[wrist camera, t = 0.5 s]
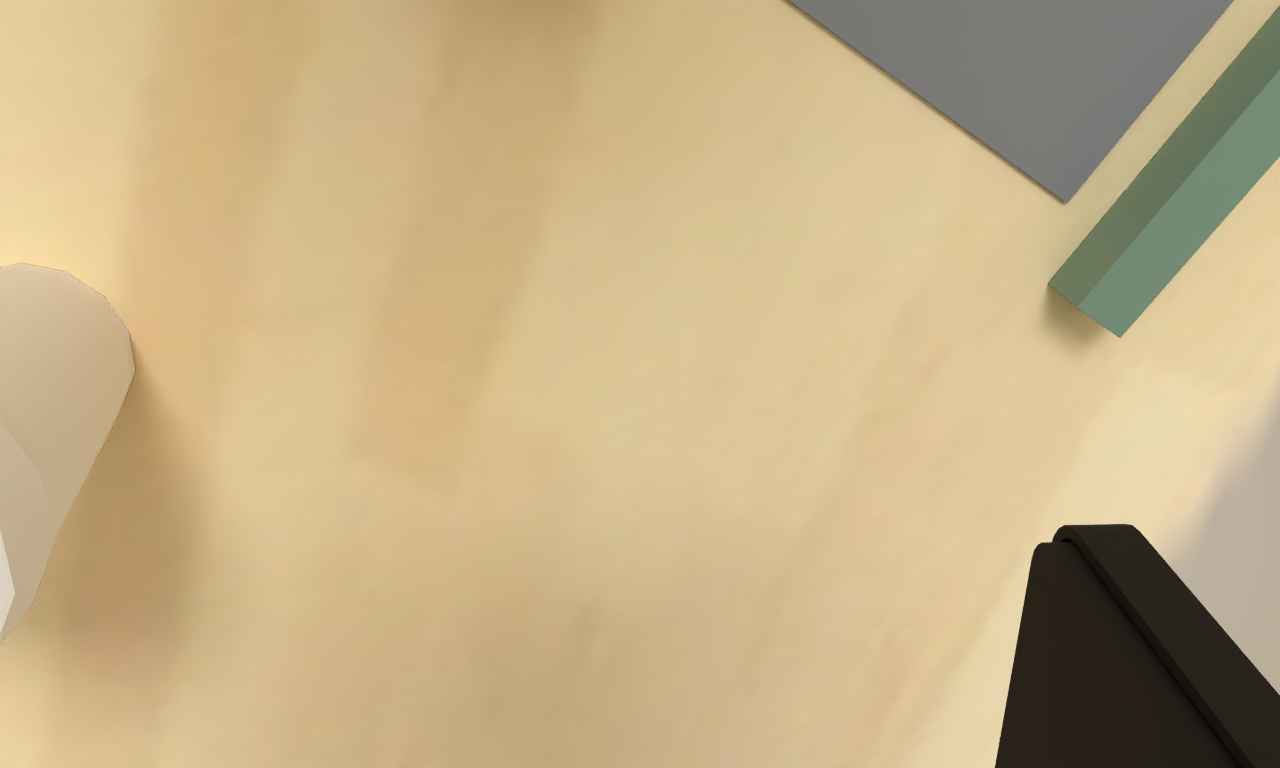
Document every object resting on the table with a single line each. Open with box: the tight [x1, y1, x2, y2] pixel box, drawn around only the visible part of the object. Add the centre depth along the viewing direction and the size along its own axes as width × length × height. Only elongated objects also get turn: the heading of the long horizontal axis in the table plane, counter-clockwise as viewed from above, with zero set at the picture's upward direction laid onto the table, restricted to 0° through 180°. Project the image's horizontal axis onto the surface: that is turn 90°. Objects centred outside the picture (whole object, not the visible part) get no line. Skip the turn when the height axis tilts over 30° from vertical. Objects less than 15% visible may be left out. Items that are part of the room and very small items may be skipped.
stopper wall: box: [1048, 6, 1280, 338], centre depth 36 cm, size 18×2×2 cm, turn 146°
